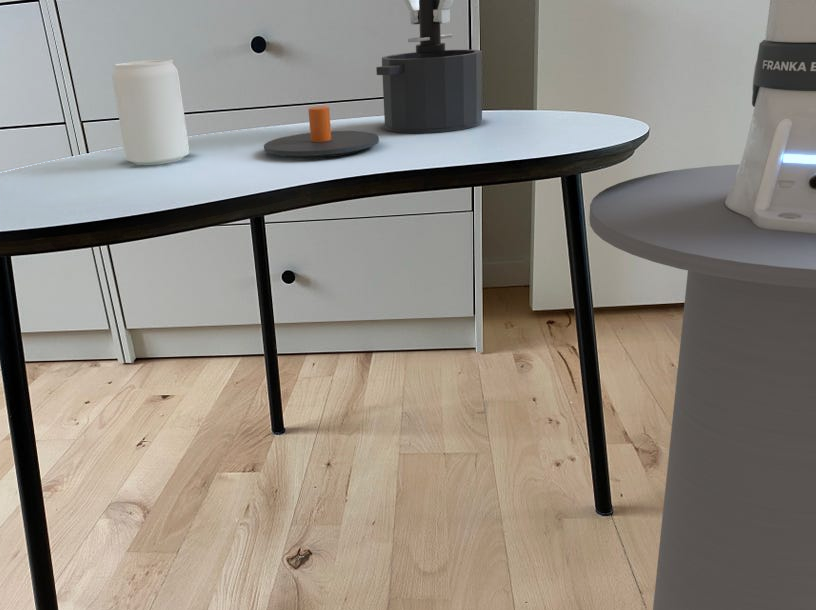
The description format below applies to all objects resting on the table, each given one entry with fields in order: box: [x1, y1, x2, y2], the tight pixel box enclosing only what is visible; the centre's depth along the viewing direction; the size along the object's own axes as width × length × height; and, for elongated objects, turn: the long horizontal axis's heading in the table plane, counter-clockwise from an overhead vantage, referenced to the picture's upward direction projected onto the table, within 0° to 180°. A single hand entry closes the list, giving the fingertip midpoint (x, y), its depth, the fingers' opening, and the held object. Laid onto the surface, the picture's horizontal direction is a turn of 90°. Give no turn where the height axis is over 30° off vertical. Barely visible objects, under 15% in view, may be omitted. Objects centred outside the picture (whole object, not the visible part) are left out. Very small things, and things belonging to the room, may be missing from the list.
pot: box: [375, 49, 483, 134], centre depth 116 cm, size 14×19×10 cm
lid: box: [263, 105, 380, 159], centre depth 105 cm, size 15×15×5 cm
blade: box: [407, 0, 453, 53], centre depth 113 cm, size 7×4×8 cm, turn 132°
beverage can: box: [111, 58, 190, 166], centre depth 105 cm, size 8×8×12 cm
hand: (429, 23), depth 113 cm, fingers closed on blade, 3 cm apart
